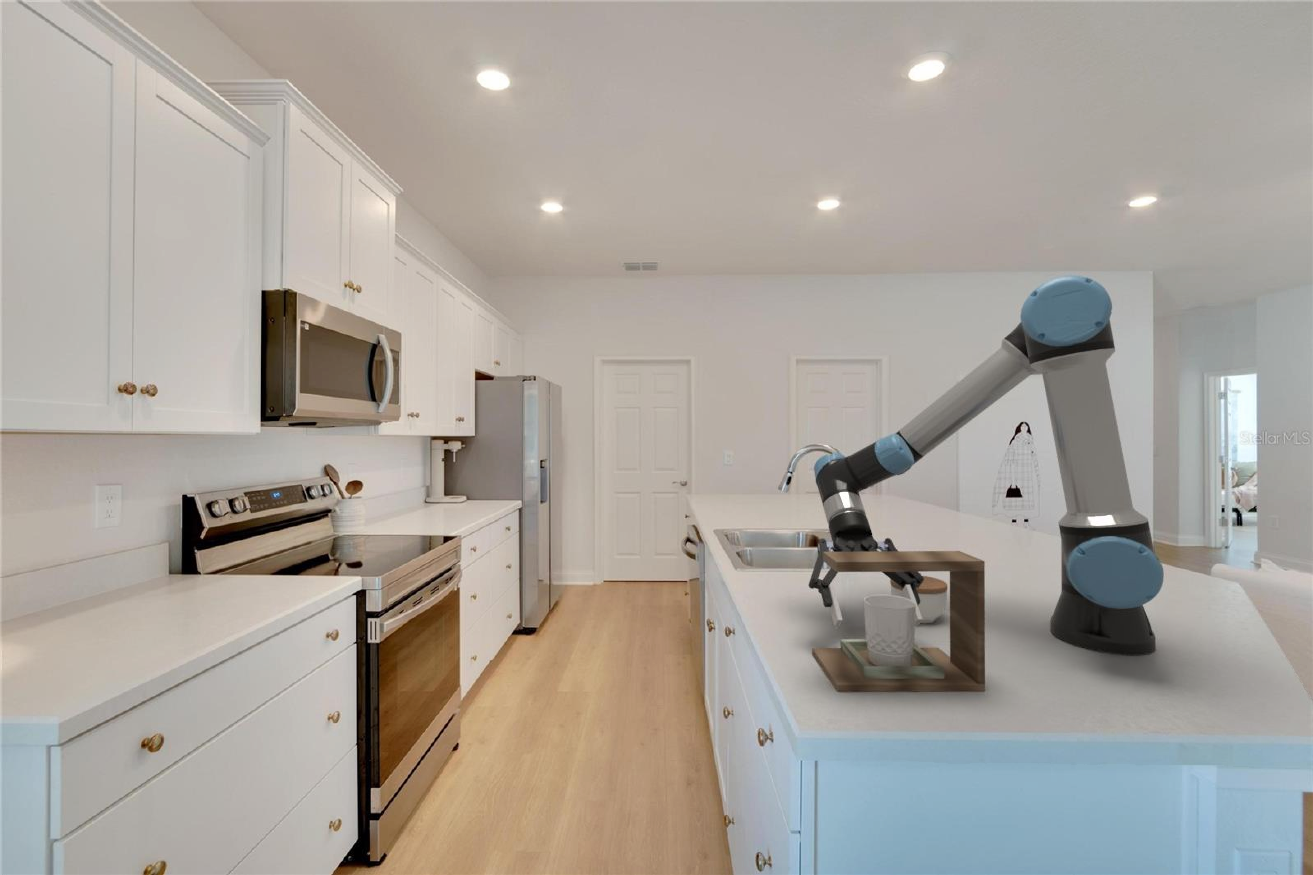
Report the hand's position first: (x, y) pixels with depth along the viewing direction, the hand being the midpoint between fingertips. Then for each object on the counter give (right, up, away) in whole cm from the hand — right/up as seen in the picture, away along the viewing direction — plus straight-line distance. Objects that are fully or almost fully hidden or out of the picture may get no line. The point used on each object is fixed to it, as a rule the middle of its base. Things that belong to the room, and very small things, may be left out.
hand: (878, 623), depth 93 cm
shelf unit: (0, -6, -5) cm, 8 cm away
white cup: (0, -5, -4) cm, 6 cm away
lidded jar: (+17, -6, +20) cm, 27 cm away
